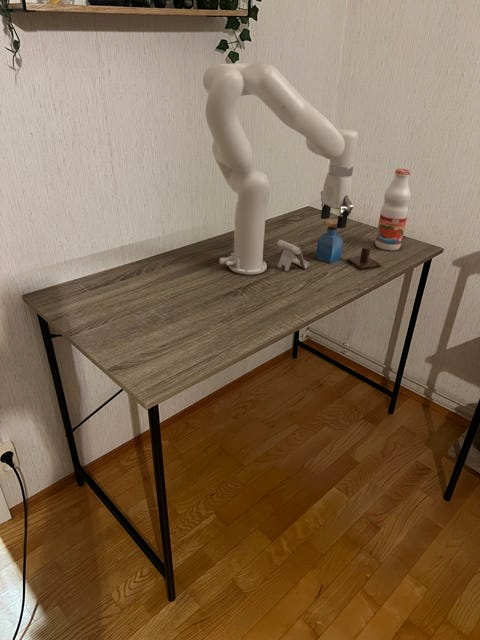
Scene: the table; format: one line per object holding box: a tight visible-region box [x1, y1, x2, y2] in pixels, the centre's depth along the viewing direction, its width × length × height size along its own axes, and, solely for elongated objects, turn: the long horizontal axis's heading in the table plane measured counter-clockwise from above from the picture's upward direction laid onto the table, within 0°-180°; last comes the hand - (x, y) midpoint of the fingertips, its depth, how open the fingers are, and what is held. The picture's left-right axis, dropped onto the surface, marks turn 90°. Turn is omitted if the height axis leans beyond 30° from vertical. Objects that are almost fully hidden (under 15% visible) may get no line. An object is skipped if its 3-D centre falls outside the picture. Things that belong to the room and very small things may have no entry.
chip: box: [325, 218, 338, 229], centre depth 165 cm, size 5×5×1 cm
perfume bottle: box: [315, 226, 344, 264], centre depth 168 cm, size 6×6×12 cm
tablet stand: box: [277, 239, 310, 272], centre depth 162 cm, size 9×8×8 cm
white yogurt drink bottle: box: [374, 168, 412, 251], centre depth 177 cm, size 9×9×28 cm
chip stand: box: [346, 245, 381, 271], centre depth 167 cm, size 8×8×6 cm
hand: (332, 223), depth 165 cm, fingers open, 9 cm apart
